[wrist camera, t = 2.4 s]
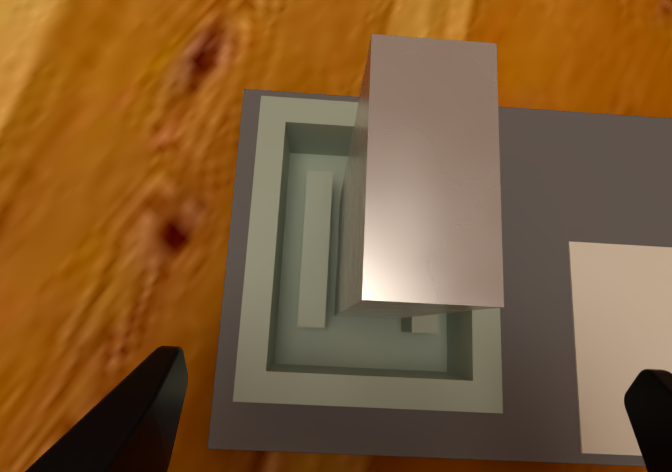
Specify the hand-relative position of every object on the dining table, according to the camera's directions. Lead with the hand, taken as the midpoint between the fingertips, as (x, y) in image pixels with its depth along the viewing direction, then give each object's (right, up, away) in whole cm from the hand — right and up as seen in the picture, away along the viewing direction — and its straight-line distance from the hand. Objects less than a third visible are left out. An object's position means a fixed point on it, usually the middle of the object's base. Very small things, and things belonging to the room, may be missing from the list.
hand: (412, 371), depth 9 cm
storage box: (0, +2, +11) cm, 11 cm away
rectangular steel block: (0, +2, +10) cm, 10 cm away
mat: (+6, +1, +12) cm, 13 cm away
